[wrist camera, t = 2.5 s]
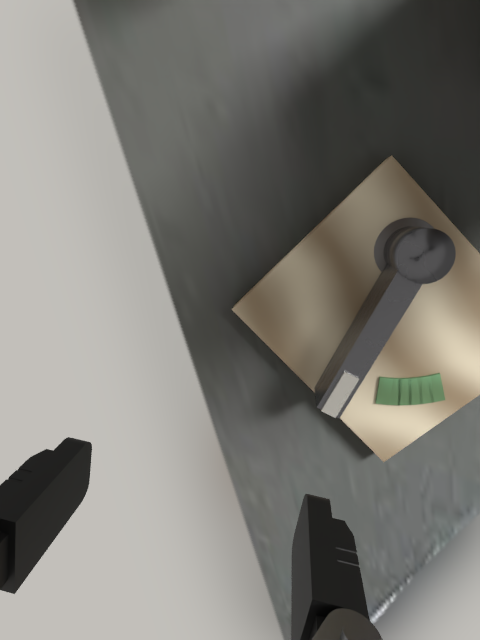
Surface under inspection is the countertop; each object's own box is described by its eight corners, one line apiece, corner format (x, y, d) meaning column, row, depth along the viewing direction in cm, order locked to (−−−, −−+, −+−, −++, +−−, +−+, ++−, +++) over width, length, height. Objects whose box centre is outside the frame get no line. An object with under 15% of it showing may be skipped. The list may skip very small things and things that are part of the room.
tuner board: (386, 158, 26) (392, 154, 24) (542, 333, 27) (558, 341, 26) (234, 304, 29) (231, 310, 28) (379, 450, 31) (384, 463, 29)
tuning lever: (399, 217, 25) (416, 218, 21) (443, 239, 25) (467, 243, 21) (305, 383, 28) (306, 406, 25) (343, 401, 28) (350, 427, 25)
